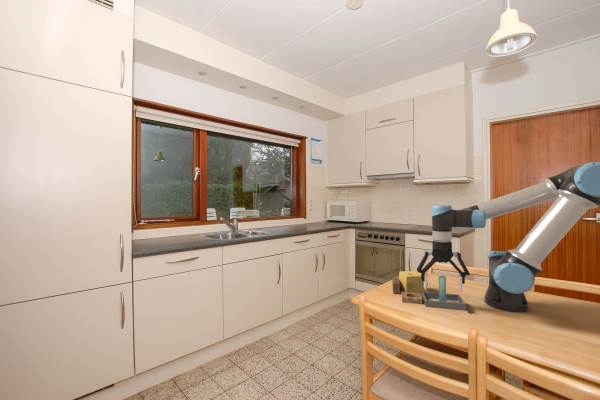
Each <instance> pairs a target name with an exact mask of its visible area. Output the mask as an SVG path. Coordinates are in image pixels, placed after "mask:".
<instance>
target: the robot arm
mask: <svg viewBox="0 0 600 400" xmlns="http://www.w3.org/2000/svg"><path fill="white" fill-rule="evenodd" d="M552 200H554V201H553V203H552V204H551V205H550V207H549V208H548V209H547V210H546V211H545V212H544V214H543V215H542V216H541V217H540V219H538V221H537V222H536V223H535V225H534V226H533V227H532V228H531V229H530V231H529V232H527V234H526V235H525V237H524V238H523V239H522V240H521V242H519V244H518V245H517V246H516V247H515V248H514V249H507V250H506V251H503V250H502V251H501V250H500V251H499V250H491V251H489V252H488V256H487V257H488V258H487V259H488V286H487V289H486V291H485V294H484V300H483V301H484V303H485V304H486V305H488V306H489V307H492V308H496V309H498V310H502V311H507V312H516V313H517V312H518V313H521V312H523V313H524V312H527V311H528V310H529V302H528V300H527V297H526V294H525V293H528V292H529V291H531V289H532V288H533V287H534V285H535V282H536V281H535V278H536V277H538V275H539V274H540V272H541V271H542V269H543V268H542V265H541V263H542V262H543V261H544V260H545V259H546V257H548V255H549V254H550V253H551V252H552V251H553V250H554V249H555V247H557V245H558V244H559V242H561V240H562V239H564V237H565V236H566V235H567V233H568V232H569V231H570V230H571V229H572V228H573V227H574V226H575V225H576V223H577V222H578V221H579V220H580V219H581V218H582V216H583V215H584V214H585V213H586V212H587V211H588V210H589V209H595V208H596V209H597V208H598V207H599V206H600V161H592V162H587V163H585V164H584V163H583V164H581V165H577V166H576V165H575V166H573V167H570V168H568V169H566V170H564V171H562V172H560V173H557V174H555V175H553V176H550V177H548V178H545V180H544V181H543V182H539V183H538V184H535V185H531V186H528V187H526V188H523V189H520V190H517V191H514V192H513V191H512V192H511V193H508V194H505V195H502V196H499V197H495V198H493V199H490V200H487V201H484V202H481V203H477V204H476V205H472V206H469V207H464V208H462V209H453V207H452V205H449V204H435V205H433V206H432V207H431V208H432V209H431V226H432V227H431V229H432V230H431V231H432V234H431V235H432V242H431V243H432V245H431V246H432V247H431V248H432V249H431V251H427V250H424V254H423V257H422V259H421V261H420V262H419V264H418V266H417V267H416V271H418V272H420V273H421V279H422V281H424V288H425V289H428V286H427V283H428V280H427V272H428V271H429V270H430V269H431V268H432V267H433V266H434V264H436V263H445V264H447V263H449V264H450V265H451V266H452V267H453V268H454V269H455V270H456V271H457V272H458V273H459V274H458V276H457V277H458V278H457V279H458V281H457V282H458V284H457V285H458V286H457V287H458V292H459V293H463V285H465V283H466V280H465V279H466V276H470V273H471V272H470V271H469V269H468V267H467V266H466V264H465V262H464V261H463V258H462V255H461V252H459V251H457V252H453V242H452V241H453V230H452V229H453V228H463V229H466V228H467V229H474V230H475V229H485V227H486V224H487V220H490V219H495V218H497V217H500V216H502V215H507V214H510V213H512V212H513V213H514V212H517V211H520V210H523V209H526V208H529V207H530V208H531V207H533V206H536V205H540V204H542V203H546V202H549V201H550V202H551V201H552ZM430 256H431V257H432V258H431V259H430V261H429V262H428V263H427V264H426V261H427V260H428V258H429V257H430ZM453 257H454V258H456V259H457V261H458V263H459V265H460V266H461V268H462V270H463V271H462V270H461V269H460V267H458V266H457V264H456V263H455V262H454V261H453V260H452V258H453ZM425 264H426V265H425Z"/></svg>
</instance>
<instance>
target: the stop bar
mask: <svg viewBox="0 0 600 400" xmlns="http://www.w3.org/2000/svg"><path fill="white" fill-rule="evenodd" d="M391 277H392V278H391V280H392V281H391V282H392V285H391V286H392V293H393V294H392V295H401V289H400V282H399V276H391Z"/></svg>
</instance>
